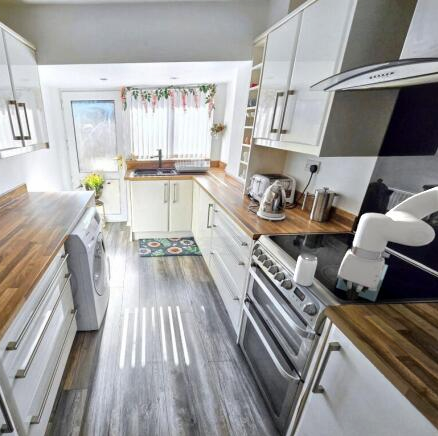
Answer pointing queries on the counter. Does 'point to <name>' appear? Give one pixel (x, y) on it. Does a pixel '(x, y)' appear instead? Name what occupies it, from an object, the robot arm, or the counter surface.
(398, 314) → the counter surface
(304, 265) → the can
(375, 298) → the cabinet
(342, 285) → the drawer
